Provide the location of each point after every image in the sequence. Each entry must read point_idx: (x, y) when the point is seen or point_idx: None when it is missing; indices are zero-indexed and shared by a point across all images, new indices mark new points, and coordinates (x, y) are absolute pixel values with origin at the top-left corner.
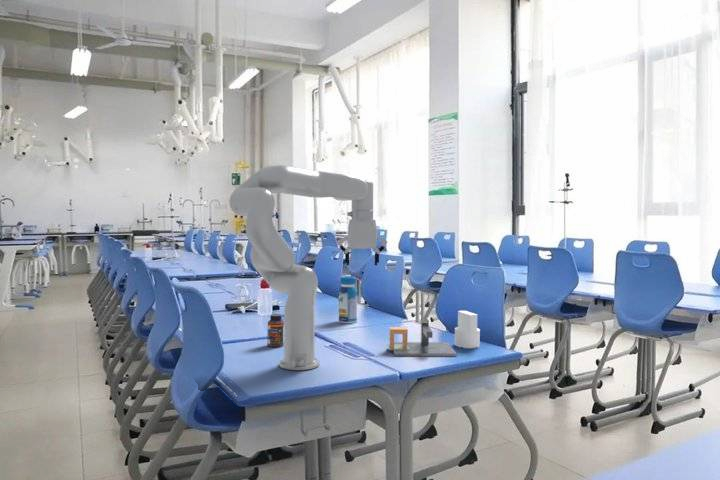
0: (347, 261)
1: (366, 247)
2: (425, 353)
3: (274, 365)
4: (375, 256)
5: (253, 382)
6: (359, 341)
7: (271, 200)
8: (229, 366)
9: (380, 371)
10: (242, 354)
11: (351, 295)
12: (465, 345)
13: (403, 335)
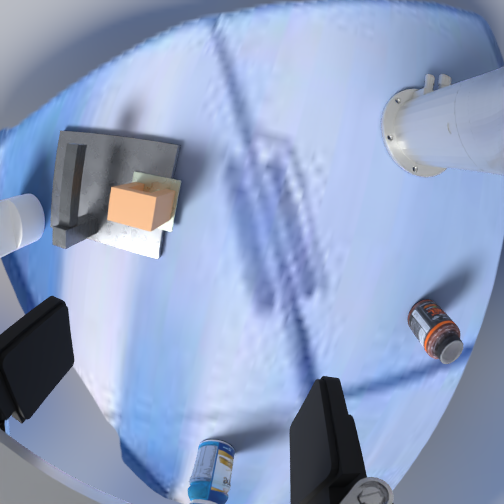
0: (342, 400)
1: (16, 455)
2: (111, 135)
3: None
4: (12, 344)
5: (485, 70)
6: (228, 311)
7: None
8: None
9: (254, 34)
10: (486, 257)
11: (202, 483)
12: (31, 197)
13: (129, 187)
